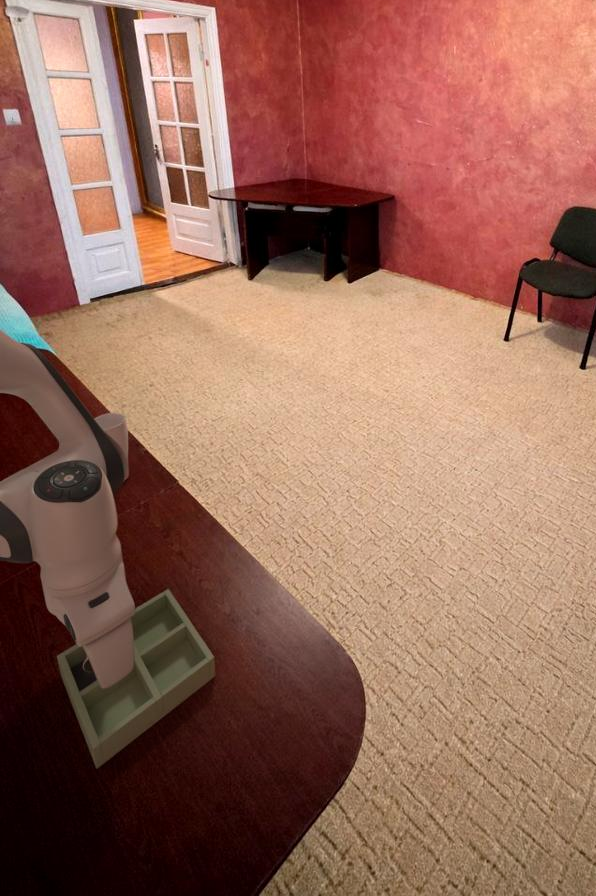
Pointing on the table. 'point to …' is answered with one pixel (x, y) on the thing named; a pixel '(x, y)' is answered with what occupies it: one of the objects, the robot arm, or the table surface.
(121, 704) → the tray
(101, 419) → the drinking glass
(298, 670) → the table surface
